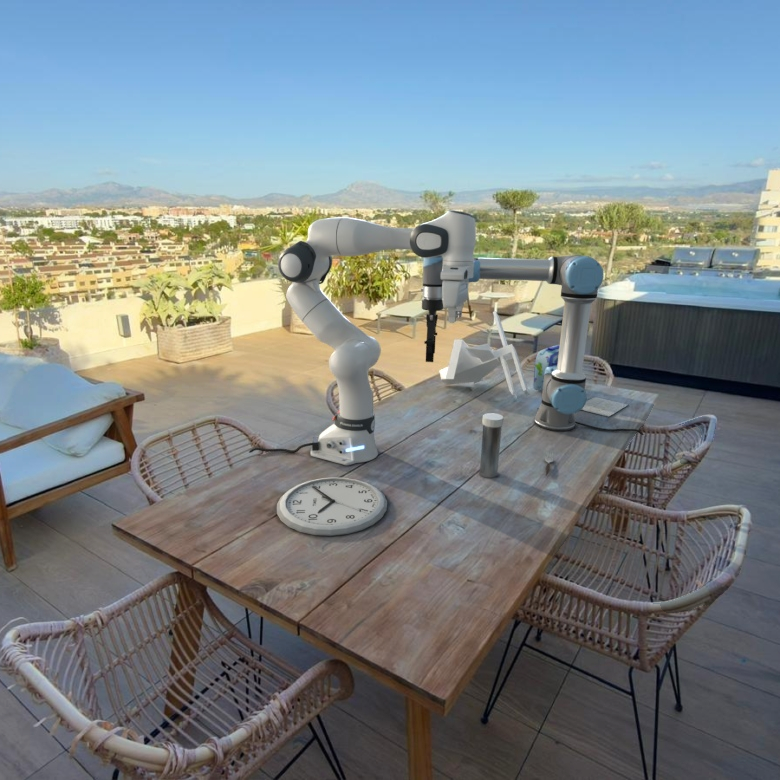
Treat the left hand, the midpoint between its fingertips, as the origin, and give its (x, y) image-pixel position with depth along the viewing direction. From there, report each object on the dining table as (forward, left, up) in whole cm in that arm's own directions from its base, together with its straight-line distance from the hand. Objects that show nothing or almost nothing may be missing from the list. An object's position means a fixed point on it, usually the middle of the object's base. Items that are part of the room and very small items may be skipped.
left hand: (455, 319), depth 152 cm
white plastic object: (-2, +84, -48) cm, 97 cm away
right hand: (-14, +31, -20) cm, 39 cm away
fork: (+30, +12, -48) cm, 58 cm away
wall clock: (-25, -33, -48) cm, 63 cm away
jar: (+13, 0, -48) cm, 49 cm away
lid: (+13, 0, -29) cm, 32 cm away
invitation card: (+51, +82, -48) cm, 108 cm away
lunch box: (+31, +102, -48) cm, 116 cm away
